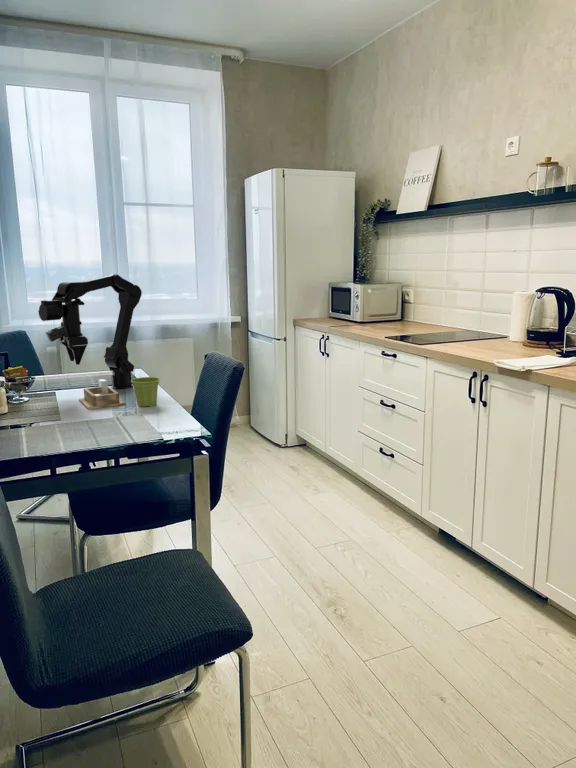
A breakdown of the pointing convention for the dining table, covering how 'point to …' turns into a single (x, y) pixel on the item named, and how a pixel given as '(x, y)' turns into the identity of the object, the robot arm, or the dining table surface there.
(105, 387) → the bracket
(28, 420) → the dining table surface
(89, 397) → the light wood shallow box
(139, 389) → the plant pot
